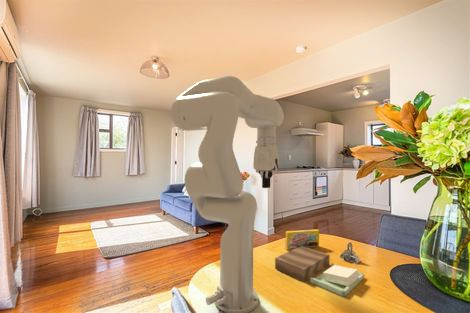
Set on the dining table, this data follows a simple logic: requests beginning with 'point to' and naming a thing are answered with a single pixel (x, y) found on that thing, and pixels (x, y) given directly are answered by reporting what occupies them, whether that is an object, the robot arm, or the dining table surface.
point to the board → (302, 262)
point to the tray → (335, 284)
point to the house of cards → (350, 255)
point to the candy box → (302, 239)
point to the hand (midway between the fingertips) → (266, 187)
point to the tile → (341, 275)
